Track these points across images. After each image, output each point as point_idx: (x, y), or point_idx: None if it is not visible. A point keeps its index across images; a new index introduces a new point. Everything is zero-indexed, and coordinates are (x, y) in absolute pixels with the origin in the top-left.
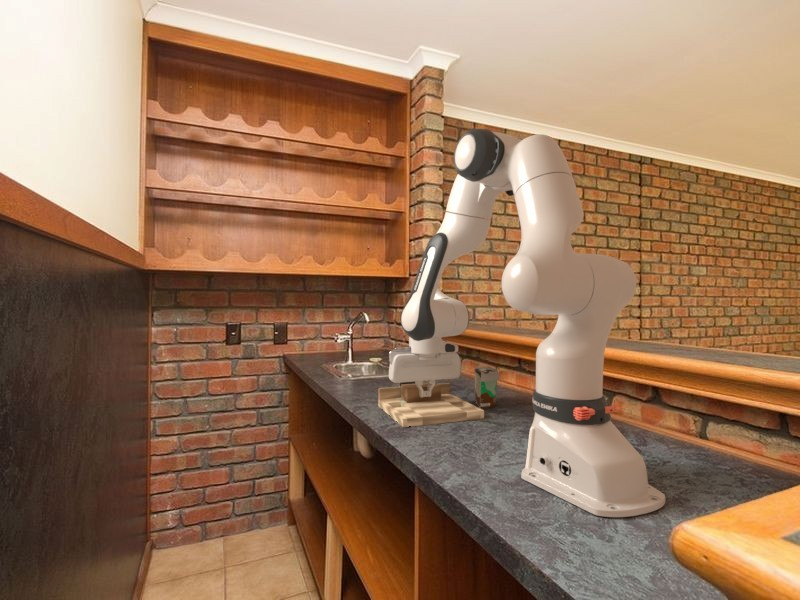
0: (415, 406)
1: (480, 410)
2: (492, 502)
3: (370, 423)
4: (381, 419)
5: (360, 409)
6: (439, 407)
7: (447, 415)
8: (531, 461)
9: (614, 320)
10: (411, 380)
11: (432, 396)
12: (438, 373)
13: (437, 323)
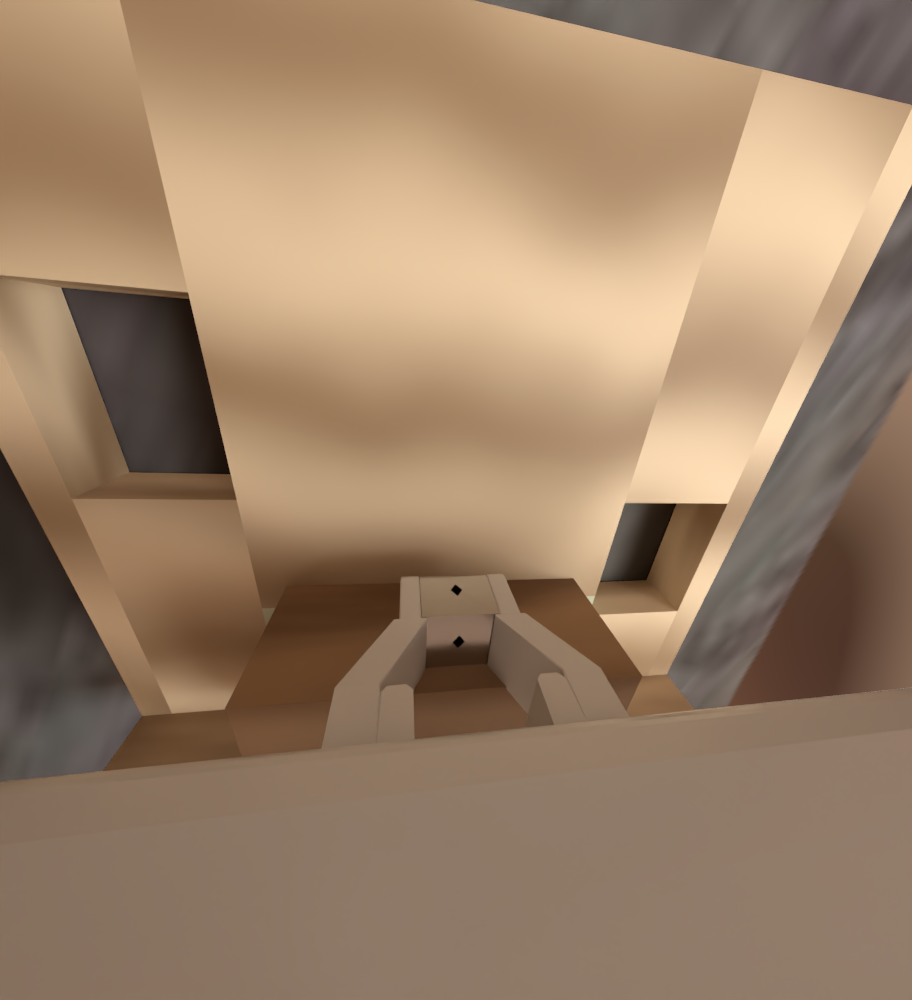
0: (577, 480)
1: None
2: None
3: (894, 378)
4: (790, 432)
5: (735, 624)
6: (400, 368)
7: (442, 12)
8: None
9: None
10: (794, 718)
11: (363, 610)
12: (175, 975)
13: None
